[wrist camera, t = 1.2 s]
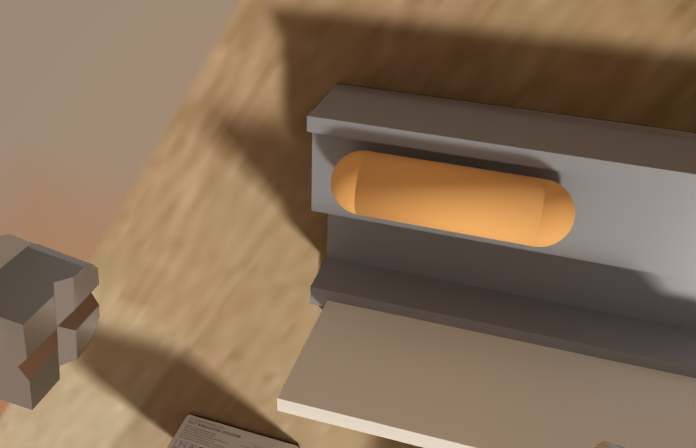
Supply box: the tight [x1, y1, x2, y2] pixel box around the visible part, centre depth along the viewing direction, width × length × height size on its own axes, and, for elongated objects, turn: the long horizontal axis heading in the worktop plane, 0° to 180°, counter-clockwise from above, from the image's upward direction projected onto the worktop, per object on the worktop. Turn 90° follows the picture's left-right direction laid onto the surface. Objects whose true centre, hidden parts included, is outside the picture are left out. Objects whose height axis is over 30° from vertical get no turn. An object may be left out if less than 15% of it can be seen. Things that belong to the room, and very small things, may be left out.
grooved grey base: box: [307, 83, 696, 378], centre depth 34 cm, size 22×16×5 cm
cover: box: [277, 300, 696, 448], centre depth 31 cm, size 20×8×1 cm
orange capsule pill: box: [331, 150, 575, 247], centre depth 29 cm, size 11×3×3 cm, turn 88°
